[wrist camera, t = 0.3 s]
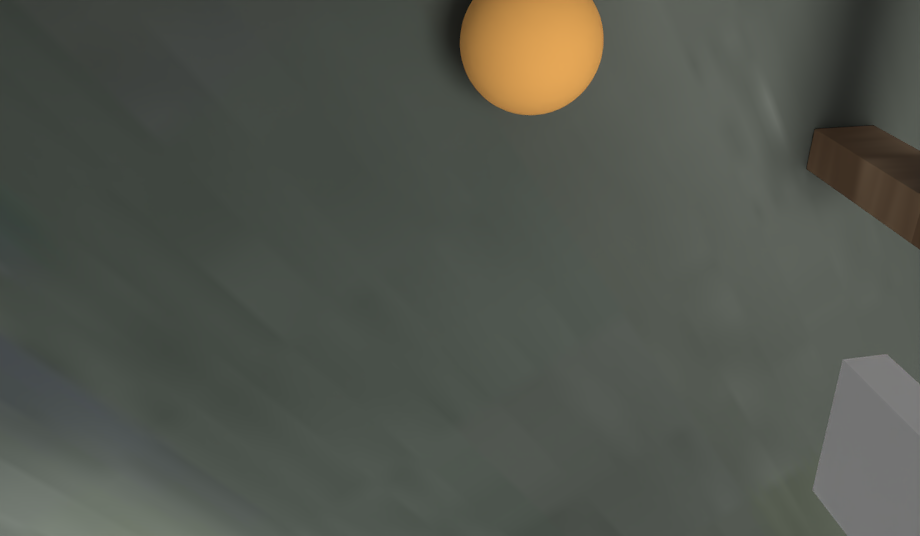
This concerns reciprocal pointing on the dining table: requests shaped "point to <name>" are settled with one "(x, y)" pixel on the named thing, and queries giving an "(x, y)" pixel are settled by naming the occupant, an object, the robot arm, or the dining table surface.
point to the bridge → (872, 174)
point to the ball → (531, 51)
